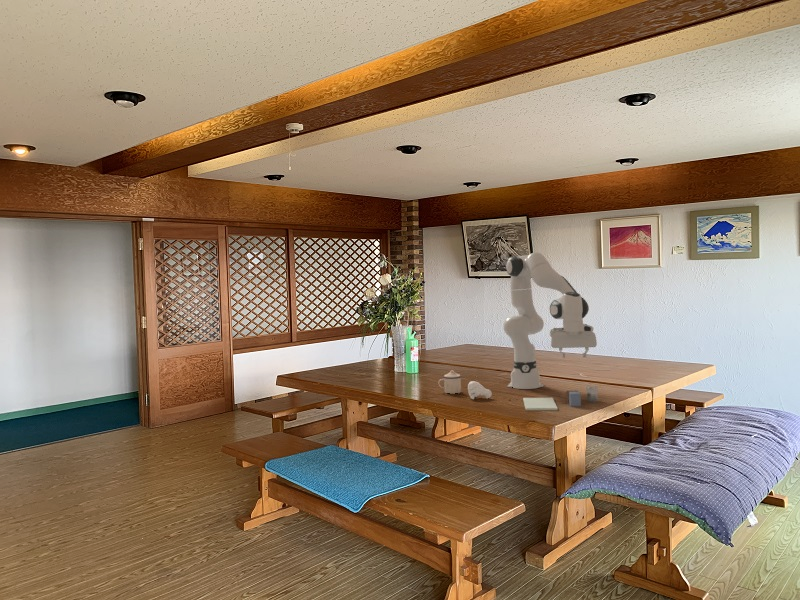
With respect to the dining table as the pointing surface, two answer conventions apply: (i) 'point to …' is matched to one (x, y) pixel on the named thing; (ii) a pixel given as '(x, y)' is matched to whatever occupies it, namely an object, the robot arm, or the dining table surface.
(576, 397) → the slate blue block
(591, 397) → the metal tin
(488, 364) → the dining table surface
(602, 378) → the dining table surface
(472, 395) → the white figurine
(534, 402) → the sage board
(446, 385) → the teacup with lid
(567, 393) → the walnut block
